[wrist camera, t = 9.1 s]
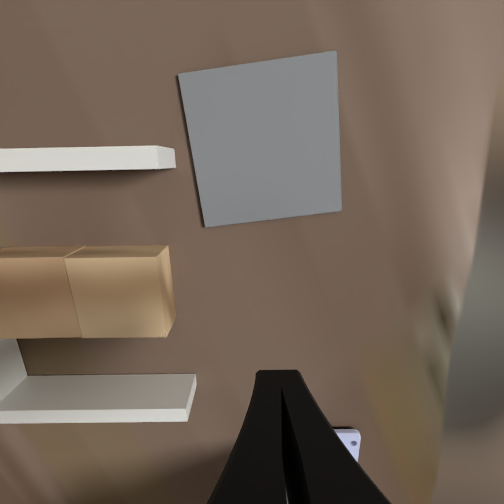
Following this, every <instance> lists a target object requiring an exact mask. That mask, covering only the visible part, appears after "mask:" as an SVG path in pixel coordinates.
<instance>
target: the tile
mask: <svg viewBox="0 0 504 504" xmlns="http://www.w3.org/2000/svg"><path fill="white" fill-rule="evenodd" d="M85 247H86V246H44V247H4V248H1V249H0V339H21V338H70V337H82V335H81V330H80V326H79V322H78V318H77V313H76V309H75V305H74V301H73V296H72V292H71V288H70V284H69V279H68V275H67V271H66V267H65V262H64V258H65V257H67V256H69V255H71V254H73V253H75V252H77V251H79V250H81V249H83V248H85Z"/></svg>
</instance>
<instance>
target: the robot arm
mask: <svg viewBox="0 0 504 504" xmlns="http://www.w3.org/2000/svg"><path fill="white" fill-rule="evenodd" d="M360 439H361V437H360V434H359V432H358V430H356V429H333V428H332V426H331V425H330V423H329V422H328V420H327V419H326V417H325V416H324V414H323V413H322V411H321V409H320V408H319V406H318V405H317V403H316V401H315V400H314V398H313V396H312V394H311V393H310V391H309V389H308V387H307V385H306V384H305V382H304V380H303V378H302V376H301V373H300V372H299V371H298V370H259V371H258V372H257V373H256V379H255V385H254V390H253V394H252V397H251V401H250V405H249V408H248V411H247V413H246V416H245V419H244V422H243V425H242V428H241V431H240V433H239V436H238V438H237V440H236V443H235V445H234V448H233V450H232V452H231V455H230V457H229V459H228V462H227V464H226V466H225V468H224V470H223V472H222V475H221V477H220V479H219V481H218V483H217V485H216V487H215V489H214V491H213V493H212V495H211V497H210V499H209V501H208V502H207V504H391V503H390V502H389V500H388V499H387V498H386V497H385V496H384V495H383V493H382V492H381V491H380V490H379V489H378V487H377V486H376V485H375V484H374V483H373V481H372V480H371V479H370V478H369V476H368V475H367V474H366V473H365V471H364V470H363V469H362V468H361V466H360V465H359V464H358V455H359V447H360Z"/></svg>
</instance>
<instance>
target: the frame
mask: <svg viewBox="0 0 504 504" xmlns="http://www.w3.org/2000/svg"><path fill="white" fill-rule="evenodd" d="M165 168H176V163H175V153H174V149H172V148H166V147H161V146H118V147H69V148H19V149H0V172H26V171H78V170H129V169H165ZM196 386H197V384H196V374H130V375H51V376H28V375H27V372H26V369H25V366H24V363H23V359H22V356H21V353H20V350H19V346H18V343H17V340H16V339H0V423H90V422H180V421H188V417H189V413H190V409H191V405H192V401H193V398H194V394H195V390H196Z"/></svg>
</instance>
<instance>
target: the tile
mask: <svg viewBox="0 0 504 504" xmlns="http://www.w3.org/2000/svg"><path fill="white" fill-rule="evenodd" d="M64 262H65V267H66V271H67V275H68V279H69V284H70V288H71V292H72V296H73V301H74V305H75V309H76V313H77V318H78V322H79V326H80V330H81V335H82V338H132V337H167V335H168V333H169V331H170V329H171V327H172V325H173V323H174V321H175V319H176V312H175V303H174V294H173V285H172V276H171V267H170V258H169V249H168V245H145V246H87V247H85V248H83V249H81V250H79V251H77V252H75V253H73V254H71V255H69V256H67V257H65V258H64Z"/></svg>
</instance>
